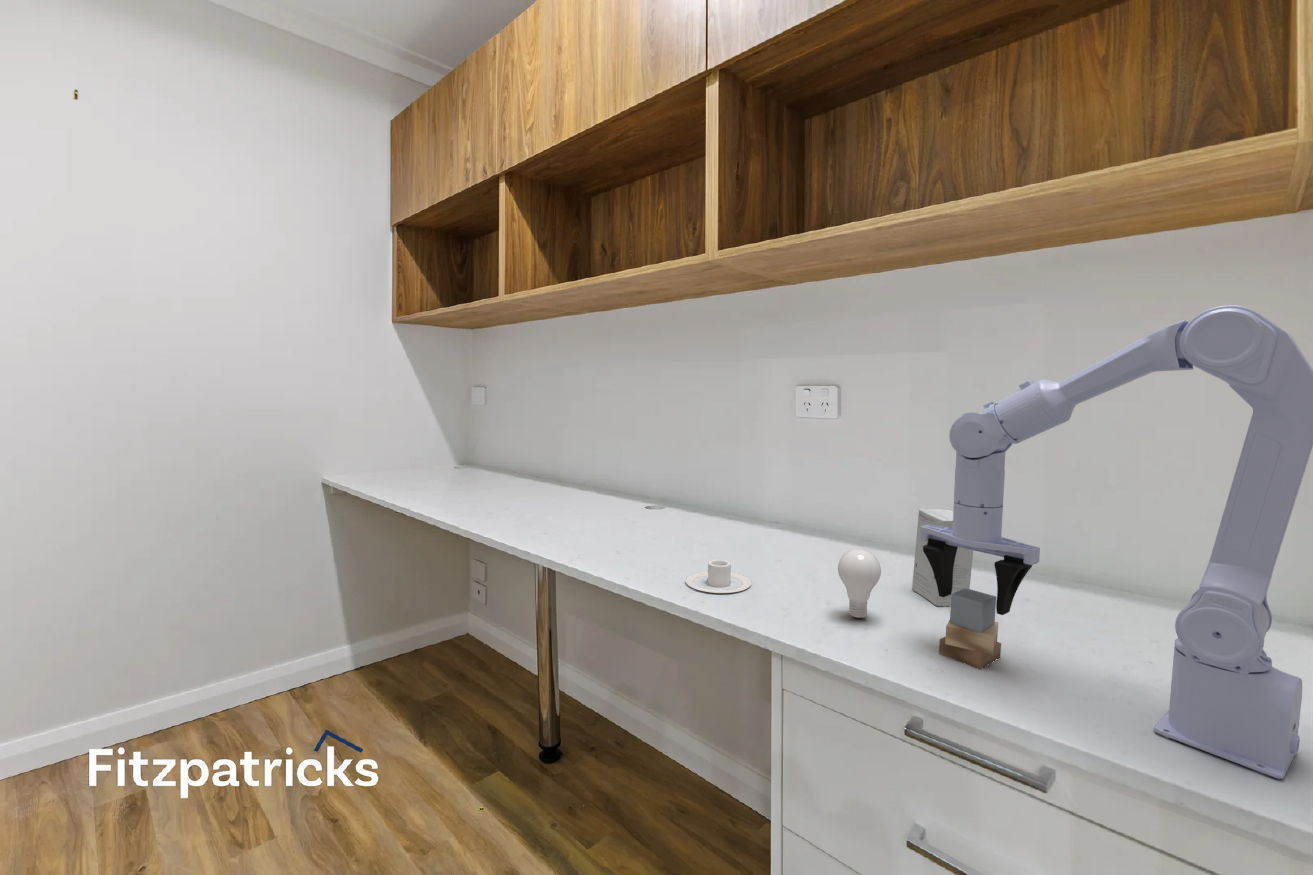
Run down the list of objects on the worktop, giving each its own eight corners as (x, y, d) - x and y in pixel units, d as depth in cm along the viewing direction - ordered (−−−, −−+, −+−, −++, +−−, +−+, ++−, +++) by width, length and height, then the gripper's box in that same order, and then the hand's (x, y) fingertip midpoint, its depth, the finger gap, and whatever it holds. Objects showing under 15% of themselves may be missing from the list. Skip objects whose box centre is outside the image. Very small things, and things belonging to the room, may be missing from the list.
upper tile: (997, 639, 80) (998, 622, 80) (992, 655, 76) (993, 636, 76) (952, 629, 83) (953, 612, 83) (945, 643, 79) (946, 625, 79)
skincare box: (911, 590, 105) (914, 508, 104) (943, 589, 106) (947, 507, 105) (938, 608, 97) (942, 519, 96) (972, 606, 98) (977, 518, 96)
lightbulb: (871, 629, 88) (874, 558, 87) (830, 619, 92) (832, 550, 91) (884, 616, 94) (886, 548, 92) (844, 607, 97) (846, 541, 96)
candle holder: (672, 583, 110) (672, 561, 110) (717, 570, 118) (718, 549, 117) (718, 602, 101) (719, 577, 100) (764, 586, 108) (765, 563, 108)
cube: (994, 625, 79) (996, 596, 79) (980, 632, 76) (982, 603, 76) (963, 615, 82) (965, 587, 82) (949, 622, 80) (951, 594, 79)
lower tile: (1000, 660, 80) (1001, 643, 79) (980, 672, 76) (981, 654, 76) (959, 646, 84) (960, 629, 84) (938, 656, 81) (939, 639, 80)
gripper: (1052, 509, 74) (1046, 613, 75) (940, 492, 86) (936, 582, 87) (1027, 516, 70) (1021, 627, 71) (913, 497, 82) (909, 592, 83)
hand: (972, 603), depth 79 cm, fingers open, 7 cm apart
